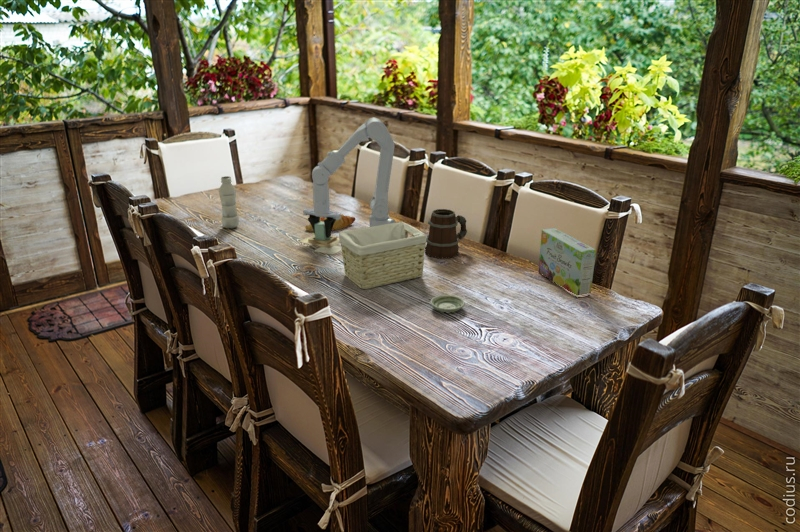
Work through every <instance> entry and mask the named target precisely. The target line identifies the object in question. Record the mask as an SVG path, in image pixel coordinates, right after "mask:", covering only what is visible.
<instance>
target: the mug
mask: <svg viewBox="0 0 800 532" xmlns="http://www.w3.org/2000/svg"><path fill="white" fill-rule="evenodd" d="M466 223H467V220H466V218H465V216H463V215H459V214H458V215H456V212H455V211H453V210H451V209H446V208H438V209H434V210H433V211H432V212H431V216H430V218H429V219H428V222H427V224H428V225H429V228H428V229H429V230H428V235H426V248H425V253H424V254H426V255H427V256H429V257H431V258H436V259H439V258H440V260H442V258H443V259H453V258H454V257H458V256H459V251H460V250H459V248H460V247H459V240H463V239H464V238H465V236H466V235H467V233H468V229H467V224H466ZM458 224H459V225H460V229H459V232H458V233H457V226H458Z"/></svg>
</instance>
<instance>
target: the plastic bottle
mask: <svg viewBox="0 0 800 532" xmlns="http://www.w3.org/2000/svg"><path fill="white" fill-rule="evenodd" d="M220 180H221V181H220V182H221V185H220V186H219V189H218V194H219V199H220V203H221V214H222V215H221V224H222V226H223V228H226V229H234V228H237V227H239V224H240V218H239V216H238V211H237V204H236V202H237V201H236V200H237V199H236V198H237V197H236V196H237V190H236V187H235V186H234V184H232V177H231V176H221V177H220Z"/></svg>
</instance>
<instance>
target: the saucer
mask: <svg viewBox="0 0 800 532" xmlns="http://www.w3.org/2000/svg"><path fill="white" fill-rule="evenodd" d="M465 304H466V302H465V300H464V299H462V298H461V297H459V296H456V295H450V294H445V295H444V294H442V295H437V296H434V297H432V298H431V299H430V305H431V306H432V307H433V308H434V309H435V310H437V311H439V312H441V311H442V312H441V313H444V312H452V313H455V312H458V311H459V310H461V309H462V308H464V307H465Z"/></svg>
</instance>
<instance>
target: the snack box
mask: <svg viewBox="0 0 800 532" xmlns="http://www.w3.org/2000/svg"><path fill="white" fill-rule="evenodd" d="M540 237H541V238H540V247H539V248H540V249H539V261H538V272H539V274H540V273H541V274H543V275H544V276H546V277H547V278H549V279H550V280H552V281H553V282H555V283H557V284H558V285H560V286H562V287H564V288H565V289H567V290H568V291H570V292H572V293H574V294H576V295H582V294H587V293H592V285H593V278H594V277H593V276H594V269H595V263H596V261H595V260H596V253H597V249H596V248H593V247H592V246H590V245H588V244H586V243H584V242H583V241H580V240H578V239H576V238H575V237H573V236H571V235H569V234H567V233H565V232H564V231H562V230H559V229H557V228H556V227H554V228H544V229H541V235H540ZM541 274H540V275H541ZM543 275H542V276H543ZM544 276H543V277H544ZM546 277H545V278H546ZM547 278H546V279H547ZM549 279H548V280H549ZM550 280H549V281H550ZM552 281H551V282H552ZM553 282H552V283H553ZM555 283H554V284H555ZM558 285H557V286H558Z"/></svg>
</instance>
